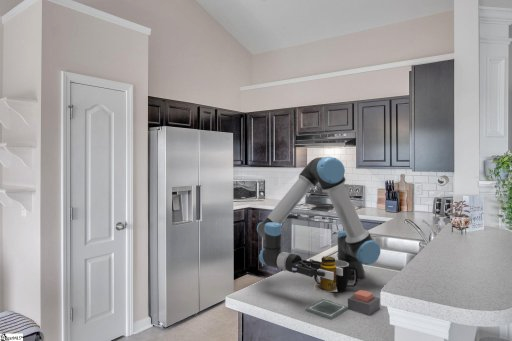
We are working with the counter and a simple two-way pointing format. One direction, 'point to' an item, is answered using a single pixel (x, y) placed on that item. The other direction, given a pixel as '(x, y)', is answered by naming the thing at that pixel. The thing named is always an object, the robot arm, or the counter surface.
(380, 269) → the counter surface
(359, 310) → the button housing
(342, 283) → the mug
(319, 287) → the condiment
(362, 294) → the button
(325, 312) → the slate board
